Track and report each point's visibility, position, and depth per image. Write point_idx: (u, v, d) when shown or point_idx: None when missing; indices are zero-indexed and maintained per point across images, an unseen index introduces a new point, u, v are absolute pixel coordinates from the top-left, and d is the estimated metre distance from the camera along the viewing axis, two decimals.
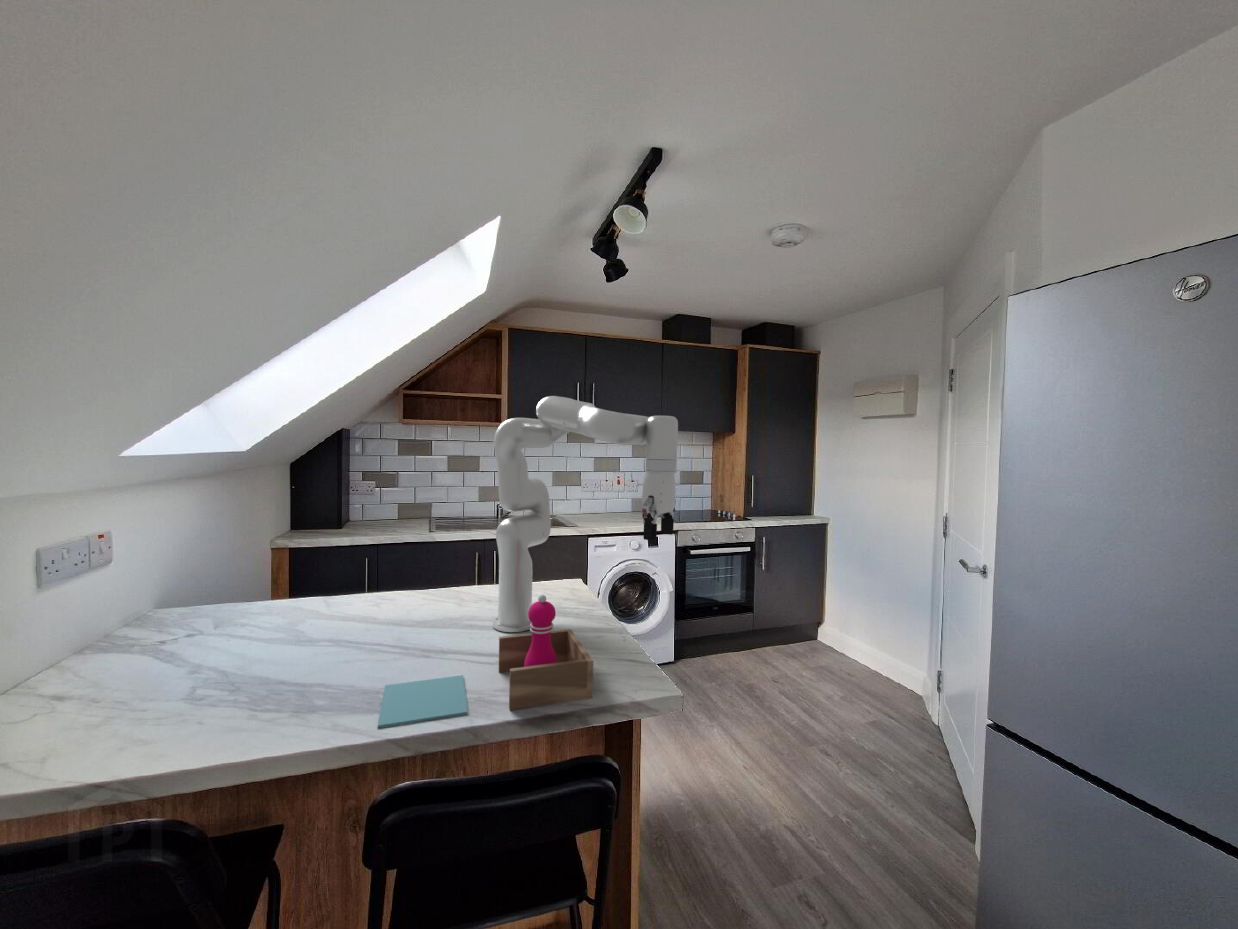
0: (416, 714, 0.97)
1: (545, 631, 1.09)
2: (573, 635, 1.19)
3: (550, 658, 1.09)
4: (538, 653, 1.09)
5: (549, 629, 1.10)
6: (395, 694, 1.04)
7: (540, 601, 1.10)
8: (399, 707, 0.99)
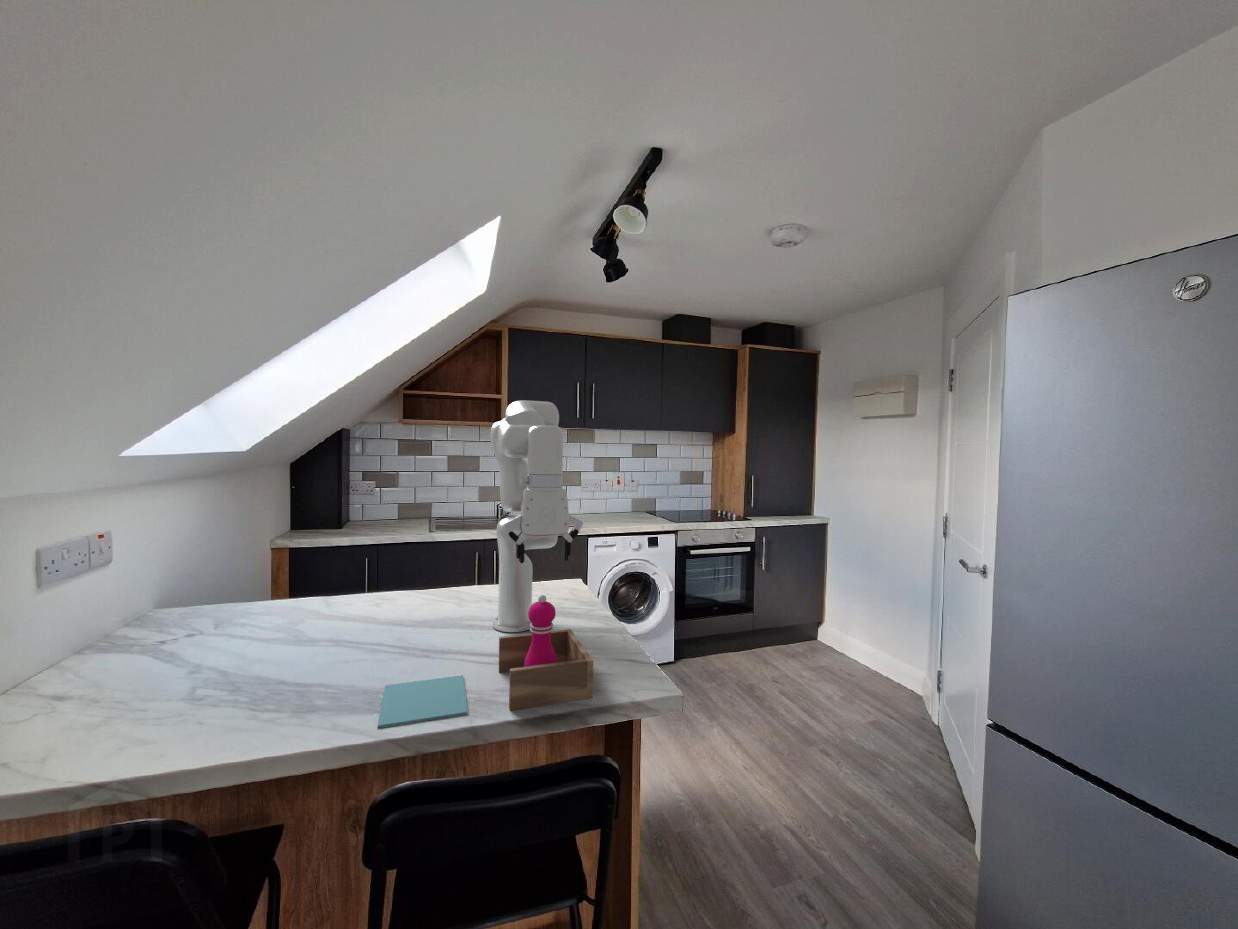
0: (416, 714, 0.97)
1: (545, 631, 1.09)
2: (573, 635, 1.19)
3: (550, 658, 1.09)
4: (538, 653, 1.09)
5: (549, 629, 1.10)
6: (395, 694, 1.04)
7: (540, 601, 1.10)
8: (399, 707, 0.99)
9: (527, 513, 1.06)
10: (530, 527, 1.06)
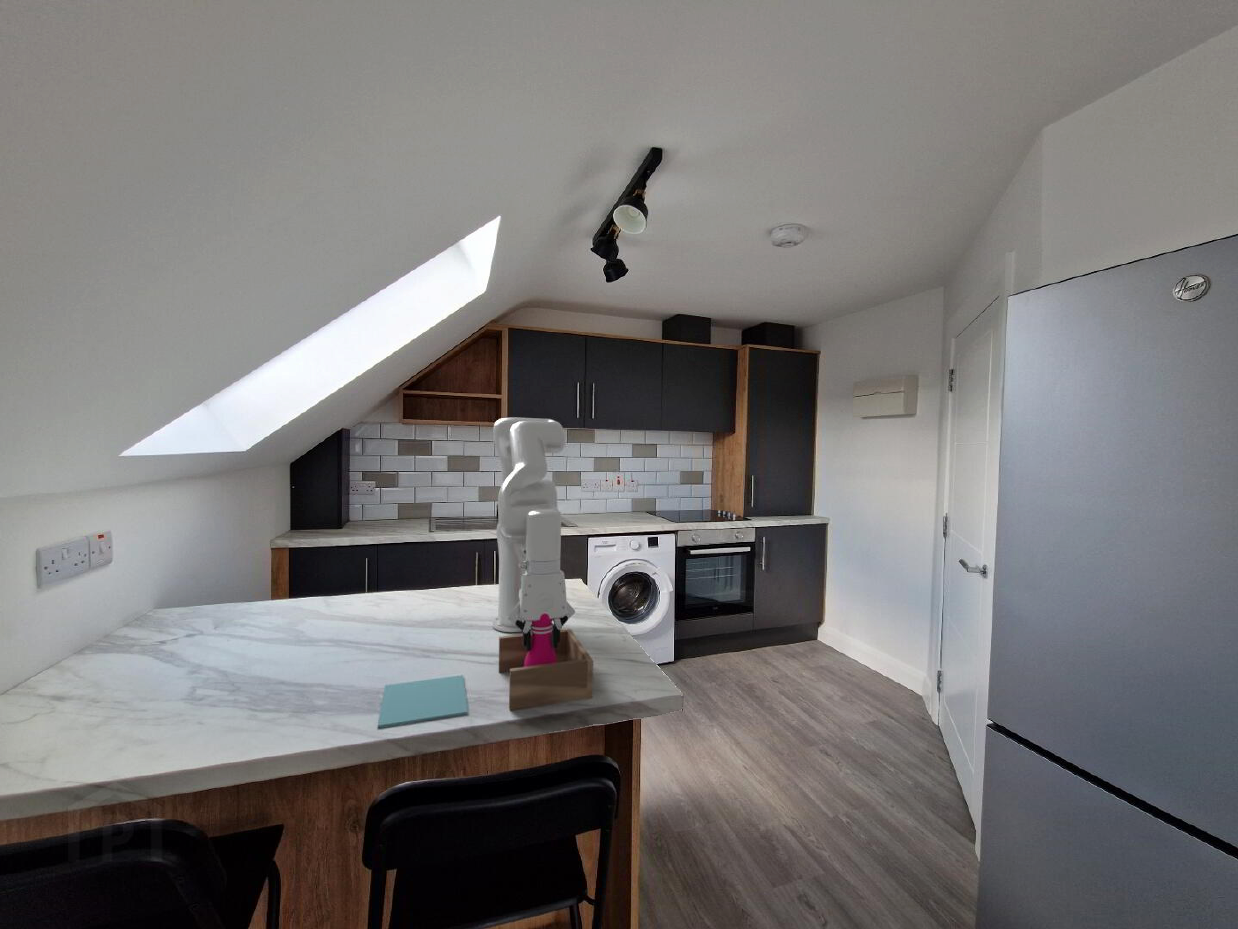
0: (416, 714, 0.97)
1: (545, 631, 1.09)
2: (573, 635, 1.19)
3: (550, 658, 1.09)
4: (537, 653, 1.09)
5: (549, 629, 1.10)
6: (395, 694, 1.04)
7: None
8: (399, 707, 0.99)
9: (525, 599, 1.07)
10: (528, 613, 1.07)
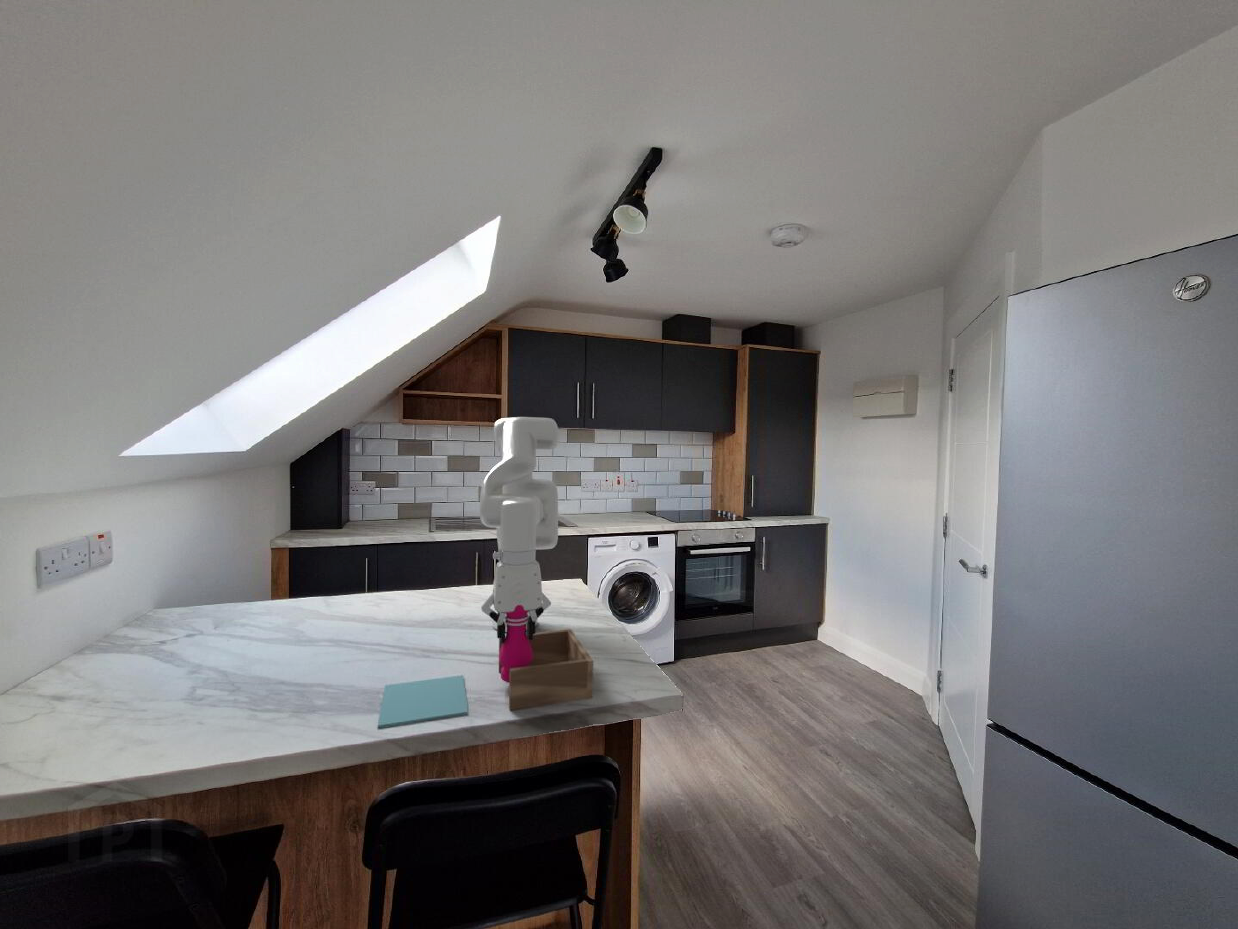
0: (416, 714, 0.97)
1: (520, 623, 1.07)
2: (573, 635, 1.19)
3: (524, 650, 1.07)
4: (512, 645, 1.07)
5: (524, 621, 1.08)
6: (395, 694, 1.04)
7: None
8: (399, 707, 0.99)
9: (499, 590, 1.05)
10: (502, 604, 1.05)
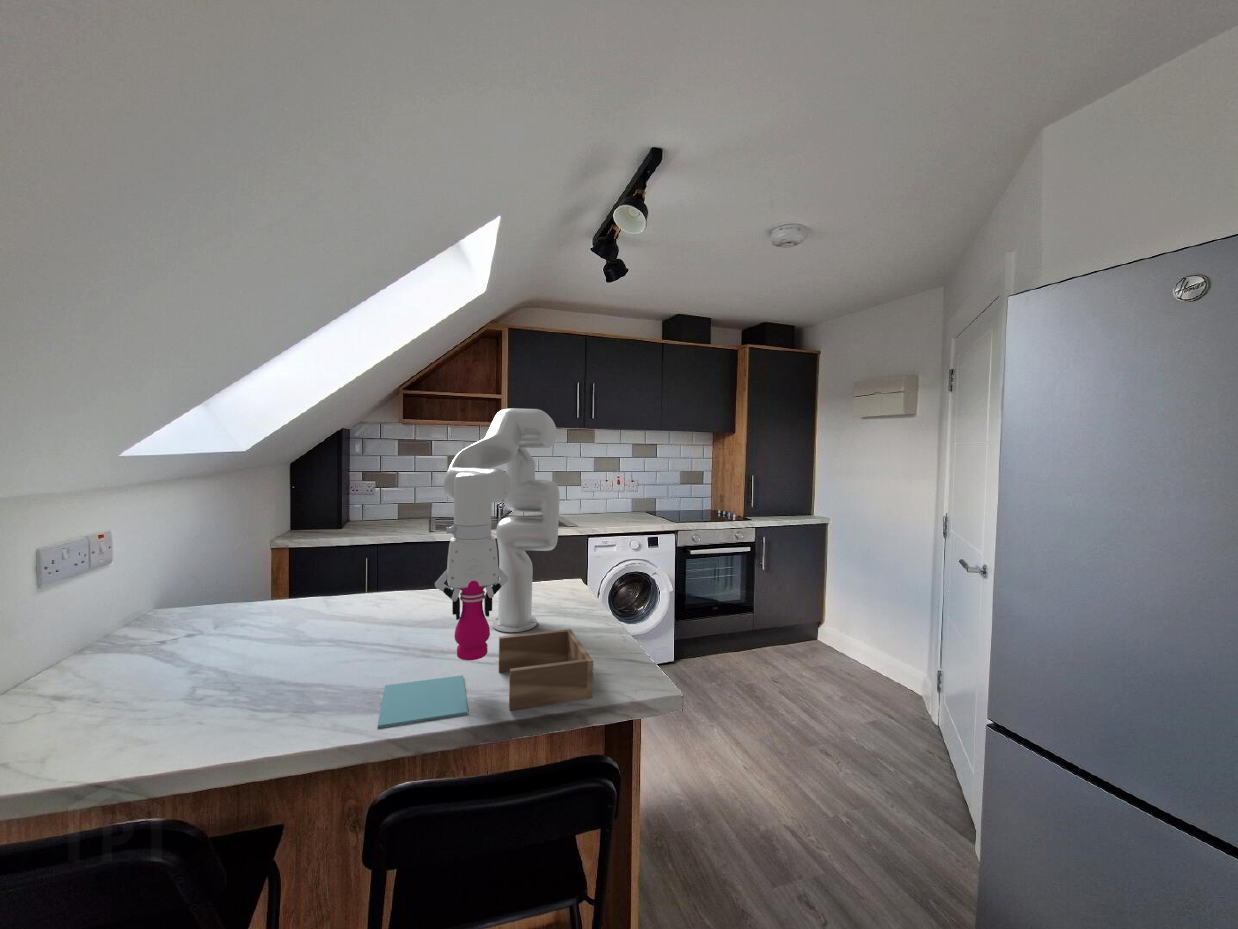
0: (416, 714, 0.97)
1: (475, 599, 1.04)
2: (573, 635, 1.19)
3: (480, 627, 1.05)
4: (467, 622, 1.04)
5: (479, 597, 1.05)
6: (395, 694, 1.04)
7: None
8: (399, 707, 0.99)
9: (452, 566, 1.02)
10: (455, 580, 1.02)
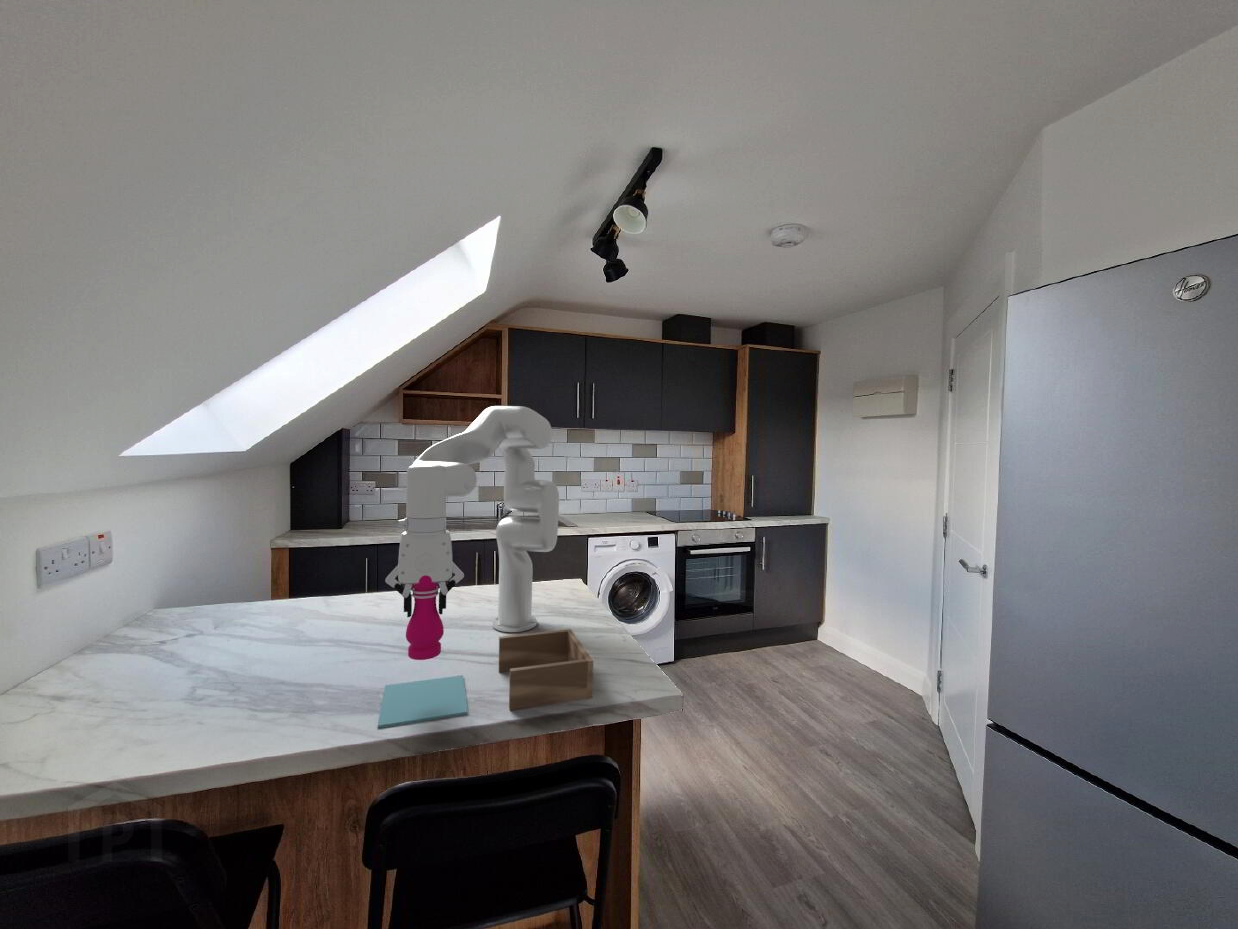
0: (416, 714, 0.97)
1: (427, 595, 1.00)
2: (573, 635, 1.19)
3: (432, 625, 1.00)
4: (418, 619, 1.00)
5: (432, 594, 1.01)
6: (395, 694, 1.04)
7: None
8: (399, 707, 0.99)
9: (403, 560, 0.98)
10: (406, 575, 0.98)
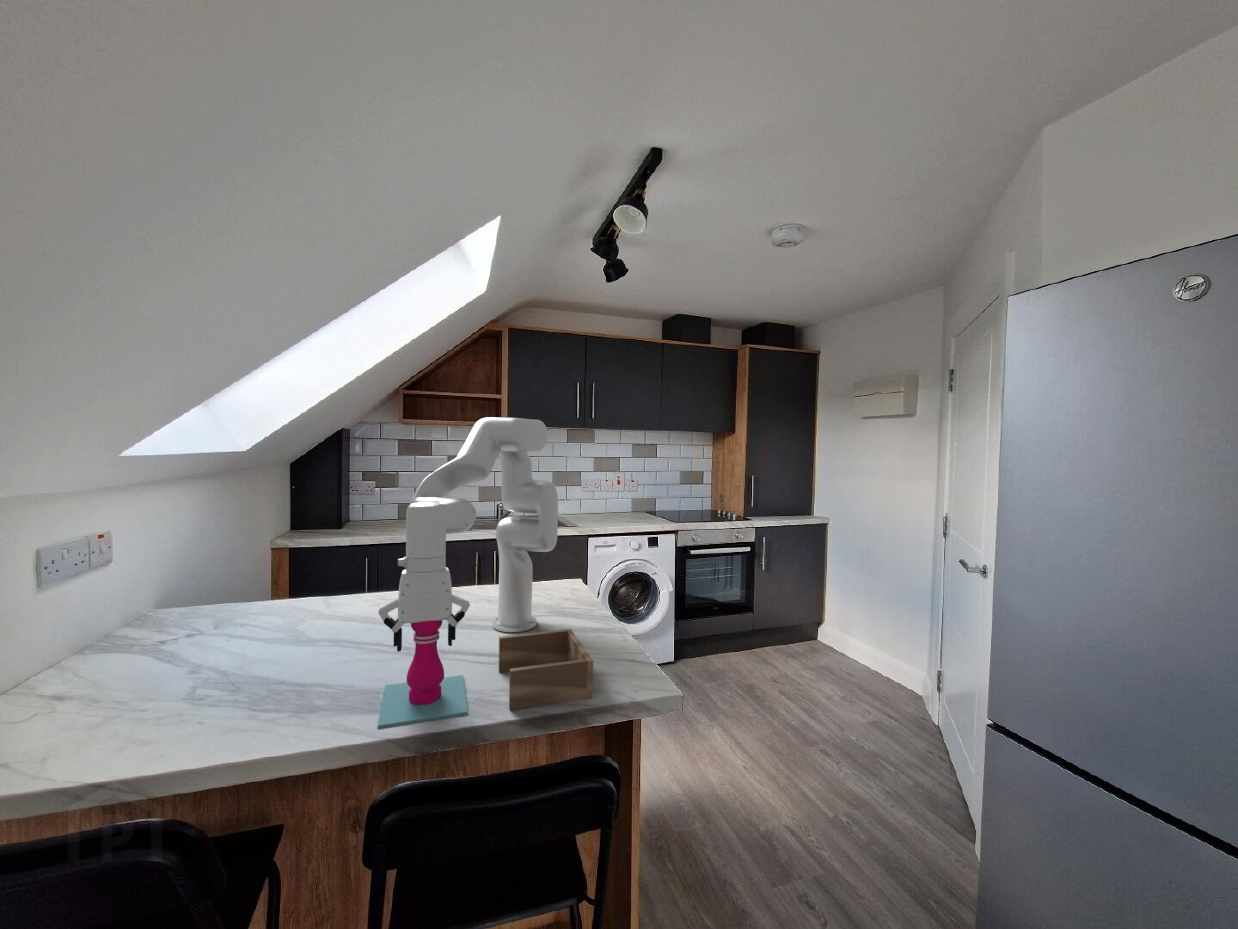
0: (416, 714, 0.97)
1: (428, 641, 1.01)
2: (573, 635, 1.19)
3: (433, 669, 1.01)
4: (419, 664, 1.01)
5: (433, 638, 1.01)
6: (395, 694, 1.04)
7: None
8: (399, 707, 0.99)
9: (402, 599, 0.98)
10: (406, 614, 0.99)
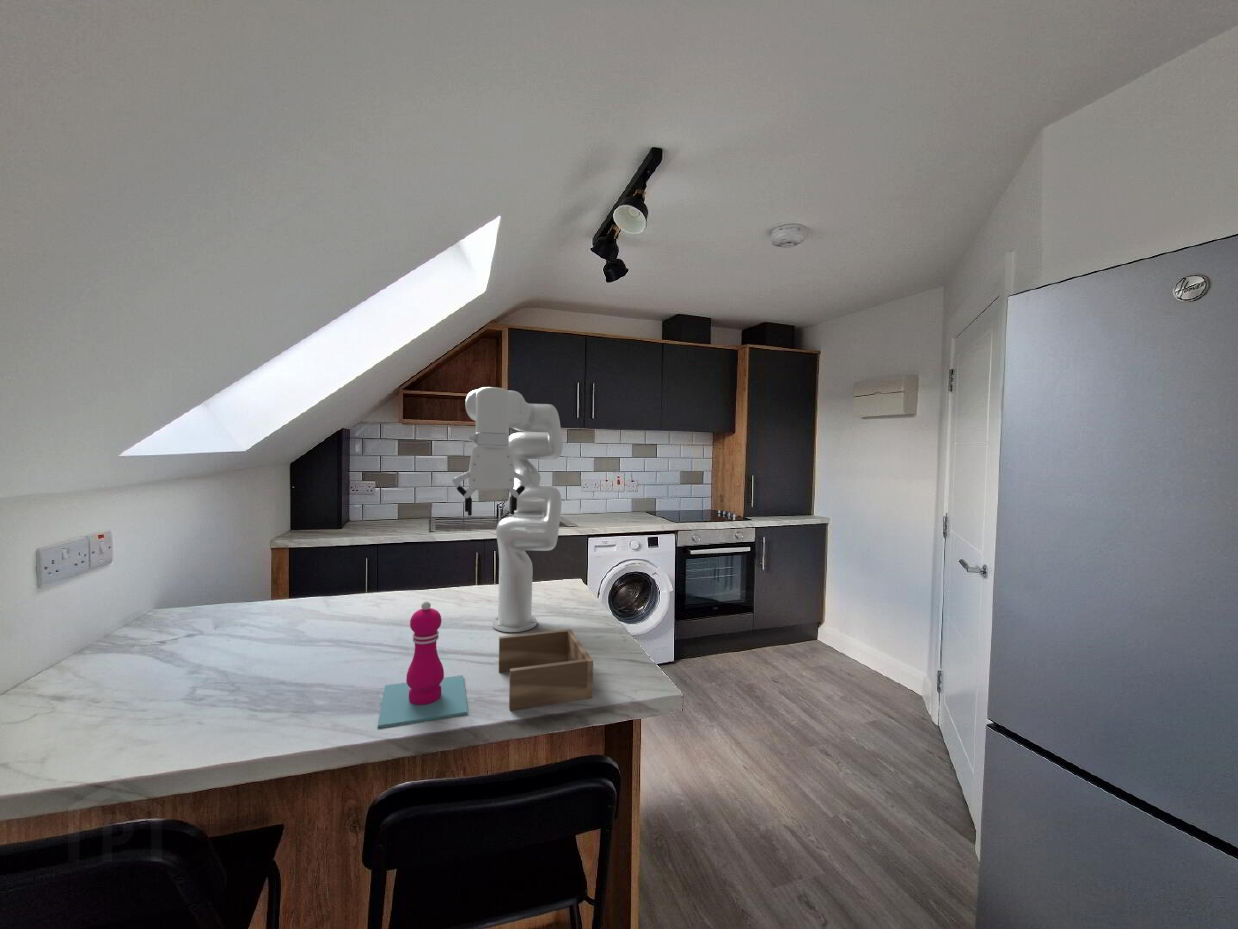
0: (416, 714, 0.97)
1: (427, 641, 1.01)
2: (573, 635, 1.19)
3: (432, 670, 1.01)
4: (419, 665, 1.01)
5: (432, 639, 1.01)
6: (395, 694, 1.04)
7: (423, 608, 1.02)
8: (399, 707, 0.99)
9: (474, 468, 1.13)
10: (477, 482, 1.14)
